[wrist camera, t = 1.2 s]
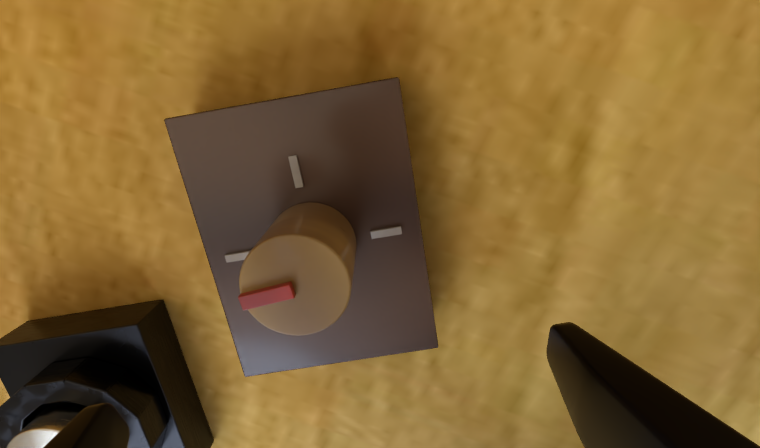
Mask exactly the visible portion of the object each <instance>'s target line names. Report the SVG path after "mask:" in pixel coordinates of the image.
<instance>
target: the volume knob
mask: <svg viewBox="0 0 760 448" xmlns="http://www.w3.org/2000/svg"><path fill="white" fill-rule="evenodd" d="M356 247H357V244H356V237H355V233H354V230H353V228H352V226H351V224H350V223H349V221H348V220H347V219H346V218H345V217H344V216H343V215H342V214H341V213H340V212H339V211H337V210H336V209H334V208H332V207H330V206H328V205H324V204H321V203H313V202H309V203H301V204H297V205H294V206H292V207H290V208H288V209H287V210H285V211H284V212H282V213H281V214H280V215H279V216H278V218H277V219H276V220H275V221H274V222H273V224H272V225H271V226H270V227H269V229H268V230H267V231H266V232H265V234H264V235H263V236H262V237H261V239H260V240H259V241H258V242H257V244H256V245H255V246H254V247H253V249H252V250H251V251H250V252H249V254H248V255H247V257H246V258H245V260H244V262H243V264H242V267H241V270H240V276H239V288H240V293H241V294H240V295H239V296H238V299H239V302H240V304H241V307H242V309H243V311H244V310H248V311H249V312H250V313H251V314H252V316H253V317H254V318H255V319H256V320H257V321H259V322H260V323H261V324H263V325H264V326H266V327H267V328H269V329H271V330H273V331H276V332H279V333H282V334H286V335H295V336H301V335H309V334H314V333H317V332H320V331H322V330H324V329H326V328H328V327H329V326H331V325H332V324H333V323H335V322H336V321H337V320H338V319H339V318H340V317H341V315H342V314H343V313H344V311H345V309H346V307H347V305H348V303H349V300H350V295H351V289H352V281H353V273H354V265H355V257H356Z"/></svg>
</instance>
